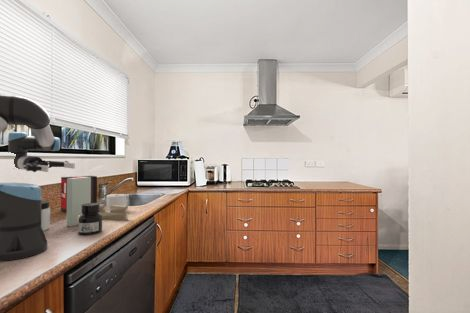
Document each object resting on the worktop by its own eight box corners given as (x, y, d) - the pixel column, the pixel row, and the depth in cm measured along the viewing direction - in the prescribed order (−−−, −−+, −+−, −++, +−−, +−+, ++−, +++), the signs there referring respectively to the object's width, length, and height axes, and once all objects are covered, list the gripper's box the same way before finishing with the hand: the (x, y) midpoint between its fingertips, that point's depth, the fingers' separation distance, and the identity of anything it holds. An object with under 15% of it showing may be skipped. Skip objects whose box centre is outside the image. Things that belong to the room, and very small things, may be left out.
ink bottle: (72, 235, 104) (72, 206, 104) (84, 229, 113) (85, 202, 113) (96, 235, 104) (96, 206, 104) (106, 229, 113) (107, 202, 113)
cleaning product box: (90, 206, 164) (90, 175, 164) (96, 208, 158) (96, 176, 158) (60, 210, 150) (61, 177, 150) (66, 212, 145) (67, 178, 145)
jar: (22, 233, 105) (23, 205, 105) (25, 229, 112) (25, 202, 112) (49, 230, 110) (49, 203, 110) (50, 226, 117) (50, 200, 117)
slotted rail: (124, 220, 128) (124, 206, 128) (88, 217, 133) (88, 204, 133) (127, 219, 131) (127, 205, 131) (91, 216, 136) (91, 203, 136)
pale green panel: (71, 226, 117) (72, 178, 117) (66, 225, 118) (66, 178, 118) (90, 220, 128) (90, 177, 128) (85, 220, 129) (85, 176, 129)
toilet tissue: (114, 215, 140) (114, 197, 140) (100, 213, 145) (100, 195, 145) (130, 211, 150) (130, 194, 150) (116, 209, 155) (116, 193, 155)
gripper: (54, 167, 143) (83, 171, 137) (2, 173, 119) (34, 178, 113) (54, 154, 142) (83, 157, 136) (2, 158, 119) (34, 162, 112)
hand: (61, 167), depth 124 cm, fingers open, 13 cm apart
